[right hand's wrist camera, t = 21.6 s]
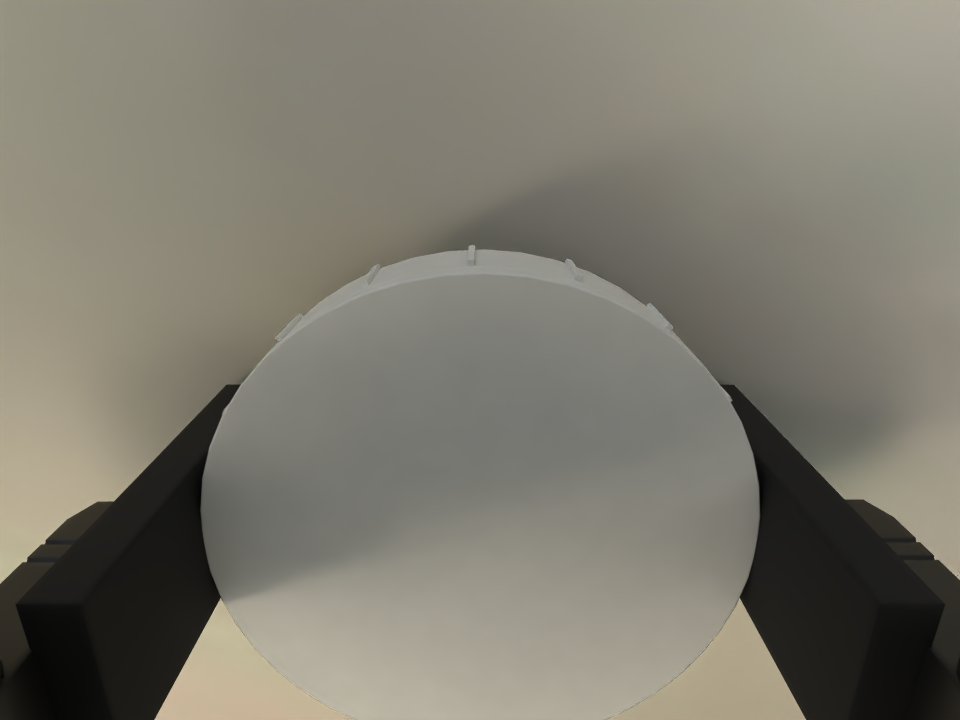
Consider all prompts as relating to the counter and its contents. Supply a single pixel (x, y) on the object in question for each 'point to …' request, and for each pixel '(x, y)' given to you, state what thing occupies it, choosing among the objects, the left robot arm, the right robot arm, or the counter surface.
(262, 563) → the lid
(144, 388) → the counter surface
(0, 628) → the right robot arm
